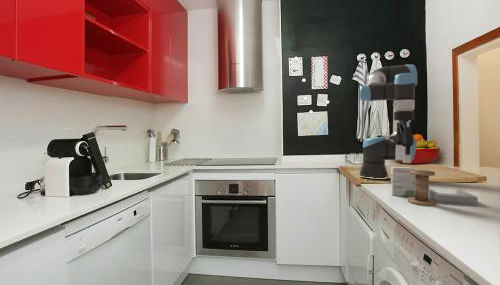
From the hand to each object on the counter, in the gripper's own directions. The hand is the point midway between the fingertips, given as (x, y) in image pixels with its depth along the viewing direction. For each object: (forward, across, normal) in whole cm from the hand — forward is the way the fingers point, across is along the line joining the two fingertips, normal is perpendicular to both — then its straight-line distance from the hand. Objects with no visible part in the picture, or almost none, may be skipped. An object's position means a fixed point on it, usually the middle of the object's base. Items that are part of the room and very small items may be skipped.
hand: (402, 161), depth 117 cm
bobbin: (+15, +11, +4) cm, 19 cm away
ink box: (+15, -1, 0) cm, 15 cm away
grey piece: (+14, +4, +16) cm, 22 cm away
